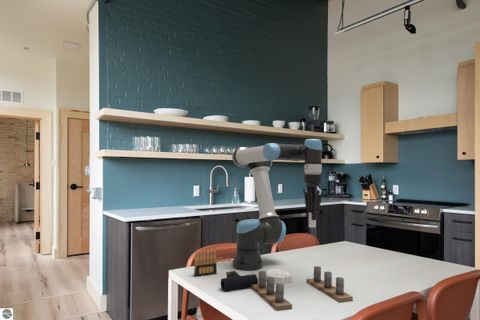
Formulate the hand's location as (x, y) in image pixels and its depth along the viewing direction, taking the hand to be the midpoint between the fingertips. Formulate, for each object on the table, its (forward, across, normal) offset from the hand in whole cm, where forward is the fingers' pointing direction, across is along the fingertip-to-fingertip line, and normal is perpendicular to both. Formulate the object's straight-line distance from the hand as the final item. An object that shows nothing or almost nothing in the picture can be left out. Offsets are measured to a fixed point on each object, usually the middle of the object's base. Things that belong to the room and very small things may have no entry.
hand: (312, 227), depth 153 cm
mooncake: (+25, -9, -12) cm, 29 cm away
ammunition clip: (+25, -24, -42) cm, 54 cm away
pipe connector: (+25, -6, -33) cm, 42 cm away
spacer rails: (+24, +11, -12) cm, 29 cm away
